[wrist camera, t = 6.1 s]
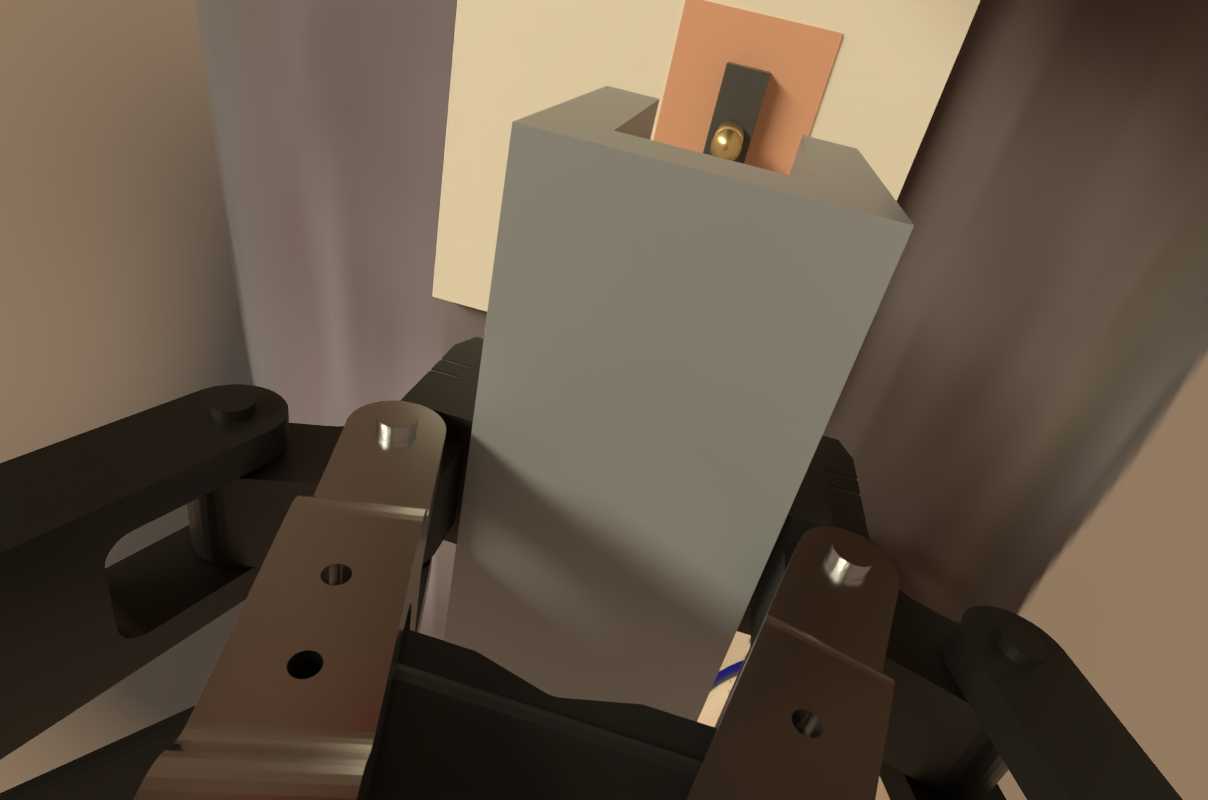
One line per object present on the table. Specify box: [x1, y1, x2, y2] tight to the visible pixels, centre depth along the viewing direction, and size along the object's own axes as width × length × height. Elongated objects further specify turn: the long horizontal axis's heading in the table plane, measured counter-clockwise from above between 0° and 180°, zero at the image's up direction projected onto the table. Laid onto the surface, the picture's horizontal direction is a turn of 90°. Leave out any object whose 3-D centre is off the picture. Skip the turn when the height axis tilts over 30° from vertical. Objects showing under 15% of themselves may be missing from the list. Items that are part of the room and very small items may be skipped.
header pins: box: [710, 120, 744, 161], centre depth 23 cm, size 7×1×3 cm, turn 168°
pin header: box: [703, 62, 771, 164], centre depth 25 cm, size 10×1×1 cm, turn 168°
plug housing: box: [444, 86, 914, 722], centre depth 12 cm, size 10×4×5 cm, turn 168°
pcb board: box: [432, 0, 980, 312], centre depth 24 cm, size 20×16×1 cm
